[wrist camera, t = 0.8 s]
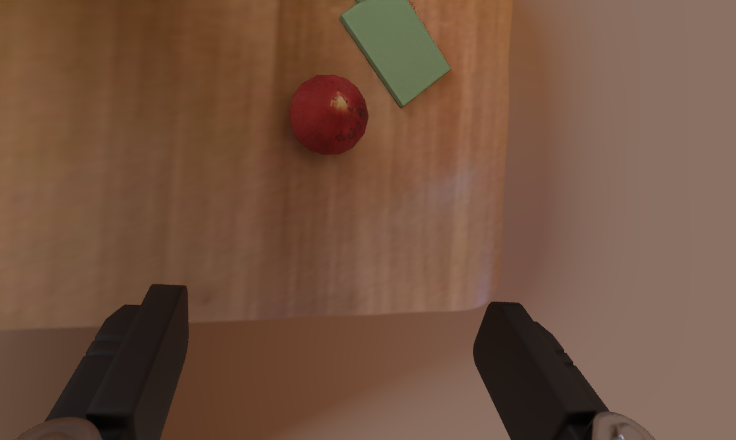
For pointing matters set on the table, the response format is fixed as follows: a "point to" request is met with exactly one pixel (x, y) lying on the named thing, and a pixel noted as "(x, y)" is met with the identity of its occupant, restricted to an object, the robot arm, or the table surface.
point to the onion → (328, 114)
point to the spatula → (396, 46)
